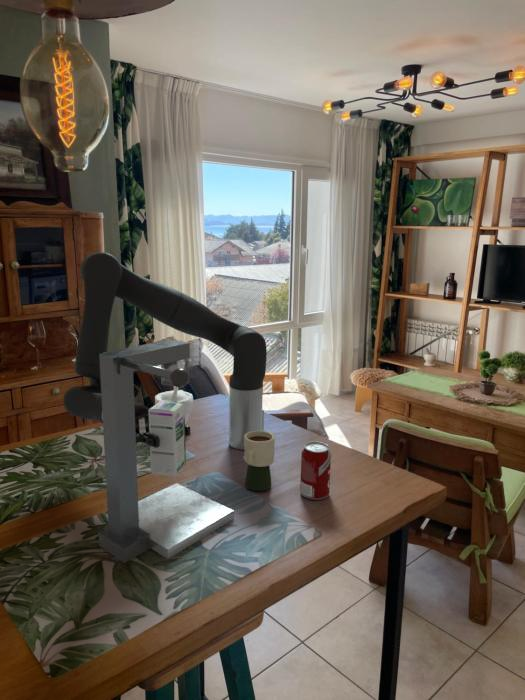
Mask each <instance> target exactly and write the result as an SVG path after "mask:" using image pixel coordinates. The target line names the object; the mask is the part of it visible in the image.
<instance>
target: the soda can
mask: <svg viewBox="0 0 525 700" xmlns="http://www.w3.org/2000/svg"><path fill="white" fill-rule="evenodd" d="M329 449H330V446H329V445H328V444H327V443H324V442H321V441H309V442H307V443H305V444H304V449H303V450H302V451H301V455H300V456H301V461H300V481H299V483H300V484H299V493H300V495H302V496H303V497H305V498H307V499H309V500H313V501H314V500H315V501H319V500H323V499H326V498H328V496H329V495H330V486H331V484H330V483H331V472H332V471H331V469H332V452H331V450H329Z"/></svg>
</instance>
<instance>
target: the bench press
mask: <svg viewBox="0 0 525 700" xmlns="http://www.w3.org/2000/svg"><path fill="white" fill-rule="evenodd" d="M190 345H191V344H190V342H187V341H182V340H177V339H173V338H171V339H167V340H161V341H155V342H152V343H151V342H149V343H146V344H140V345H135V346H129V347H125V348H120V349H116V350H115V349H114V350H109V351H107V352H103V353H102V354H99V358H100V377H101V395H102V414H103V424H102V429H103V431H102V432H103V448H104V449H103V450H104V452H103V453H104V466H105V467H104V469H105V483H106V484H105V485H106V486H105V487H106V504H107V522H108V524H107V525H108V526H107V527H105V528H104V529H103V528H102V529H101V530H99V531H98V532H97V534H98V538H97V539H98V546H99V547H100V548H101V549H103V550H104V551H106V552H108V553H109V554H110V555H112V556H113V557H115V558H116V559H118V561H120V562H121V563H123V564H126V563H127V562H130V561H131V560H133V559H134V558H136V557H138V556H140V555H141V554H143V553H145V552H147V551H149V550H153V551H154V552H155V553H157V552H158V554H159V555H161V556H162V557H164V558H166V559H167V560H168V559H169V560H170V559H171V558H172V557H174V556H175V555H177V554H179V553H181V552H182V551H184V550H185V549H187V548H189V547H190V546H191V545H194V544H195V543H197V542H198V541H201V540H202V539H203V538H205V537H206V536H207V537H208V535H210V534H212V533H213V532H215V531H216V529H217V530H218V529H220V528H221V526H222V527H223V526H225V525H226V524H228V523H230V522H231V521H233V520H234V519H235V510H234V509H232V508H230V507H227V506H225V505H223V504H221V503H220V502H217V501H215V500H213V499H211V498H209V497H206V496H204V495H202V494H201V493H198V492H196V491H194V490H192V489H190V488H188V487H185V486H184V485H182V484H179V483H174V484H171V485H169V486H167V487H166V488H164V489H161V490H159V491H156V492H155V493H153V494H150V495H149V496H147V497H144V498H142V499H140V500H139V493H138V488H139V487H138V467H137V466H138V464H137V463H138V462H137V445H136V433H135V407H134V402H135V390H134V389H135V388H134V387H135V384H134V372H137V371H139V372H142V373H146V374H149V375H153V376H157V377H160V378H161V381H160V382H161V385H163V386H167V387H171V386H172V387H174V386H175V387H178V389H179V388H184V387H186V386H187V385H188V384H189V383H190V377H191V376H190V373H189V372H188V370H187V369H185V368H184V369H182V368H178V361H179V360H183V359H184V360H186V359H188V360H189V359H190V358H191V355H190V354H191V353H190V350H191V349H190ZM158 365H161V368H159V367H156V366H158ZM233 518H234V519H233ZM232 519H233V520H232ZM230 520H231V521H230ZM229 521H230V522H229ZM227 522H228V523H227ZM224 524H225V525H224ZM219 527H220V528H219ZM211 532H212V533H211ZM201 538H202V539H201ZM188 546H189V547H188ZM186 547H187V548H186ZM148 549H149V550H148ZM183 549H184V550H183Z"/></svg>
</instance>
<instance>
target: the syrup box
mask: <svg viewBox="0 0 525 700" xmlns="http://www.w3.org/2000/svg"><path fill="white" fill-rule="evenodd" d="M148 412H149V433H151V434H153V435H155V436H158V437H159V439H160V446H159V447H157V448H155V447H153V446H149V454H150V455H149V456H150V457H149V458H150V473H151V474H153V475H159V476H163V477H166V476H167V477H175V478H177V476H178V475H179V473H181V471H182V470H183V469H184V468H185V467H186V465H187V458H186V457H187V456H186V455H187V453H186V450H187V449H186V436H185V409H184V403H182V402H177V401H161V400H160V401H159V402H158V403H157V404H155V403H154V405H153V406H151V407H150V408H149V410H148Z"/></svg>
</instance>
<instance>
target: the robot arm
mask: <svg viewBox="0 0 525 700" xmlns="http://www.w3.org/2000/svg"><path fill="white" fill-rule="evenodd" d="M79 272H80V273H79V274H80V277H81V279H82V282H83V286H84V288H83V289H84V307H83V315H82V320H81V321H82V322H81V327H80V329H79V335H78V340H77V346H76V347H77V348H76V356H75V364H74V370H75V371H74V372H75V373H76V375H78V376H80V377H83V378H88V379H89V385H75V386H72V387H70V388H69V389H67V390H66V391H65V392H64V395H63V397H62V403H63V406H64V408H65V410H66V412H68V413H69V414H70V415H71V416H73V417H76V418H80V419H85V420H91V421H97V422H99V423H100V424H102V425H103V414H102V395H101V377H100V358H99V354H102V353H103V352H108V349H109V348H108V347H109V346H108V345H109V337H110V324H111V317H112V312H113V307H114V306H113V305H114V302H115V299H116V298H119V299H121V300H123V301H125V302H126V303H129V304H131V305H133V306H134V307H136V308H137V309H139V310H140V311H141V312H143V313H145V314H146V315H148V316H150V317H151V318H153V319H154V320H156V321H158V322H160V323H162V324H163V325H166V326H168V327H170V328H172V329H174V330H176V331H178V332H180V333H181V332H182V333H184V334H187V335H189V336H192V337H196V338H201V339H204V340H207V341H208V342H211V343H212V344H215V345H216V346H217V347H219V348H221V349H223V350H224V351H225V352H227V353H229V354H230V355H231V356H232V357H233V367H232V368H233V369H232V373H231V375H230V376H229V384H228V385H229V395H228V396H229V403H228V404H229V405H228V406H229V409H228V410H229V411H228V412H229V414H228V415H229V417H228V419H229V420H228V421H229V424H228V426H229V427H228V431H229V432H228V435H229V437H228V441H229V442H228V444H229V446H230V447H231V448H233V449H235V450H241V451H245V448H244V435H245V434H246V433H248V432H251V431H265V430H264V429H265V410H264V409H263V395H264V394H263V393H264V392H263V390H264V389H263V388H264V379H265V377H266V371H267V370H266V369H267V367H266V366H267V352H268V351H267V342H266V339H265V338H264V336H263V335H262V334H261V333H260V332H258V331H256V330H254V328H253V329H252V328H250V327H248V326H245V325H242V324H239V323H237V322H234V321H232V320H230V319H227V318H225V317H222V316H221V315H218V314H217V313H215V312H214V311H213V310H212V309H210V308H209V307H207V306H206V305H205V304H203V303H202V302H200V301H198V300H196V299H195V298H193V297H191V296H189V295H187V294H185V293H184V292H182V291H180V290H178V289H175V288H173V287H171V286H168V285H166V284H164V283H161V282H157V281H156V280H151V279H148V278H146V277H143V276H141V275H139V274H137V273H135V272H134V271H132V270H131V269H129V268H127V267H126V266H125V265H123V264H122V263H120V261H119V260H118V259H117V258H116V257H115V256H114V255H113V254H110V253H109V252H103V251H100V252H94V253H90V254H88V255H87V256H86V257H85V258H84V259H83V260H82V261H81V263H80V267H79ZM134 407H135V433H136V446H138V443H139V444H140V445H144V444H145V445H148V446H149V447H150V446H153V447H155V448H157V447H159V446H160V439H159V437H158V436H155V435H153V434H151V433H149V412H148V410H149V409H150V408H149V407H147V406H146V405H143V404H141V403H138V402H136V401H134ZM188 436H191V426H190V425H188V424H187V423H186V424H185V437H188Z"/></svg>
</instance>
